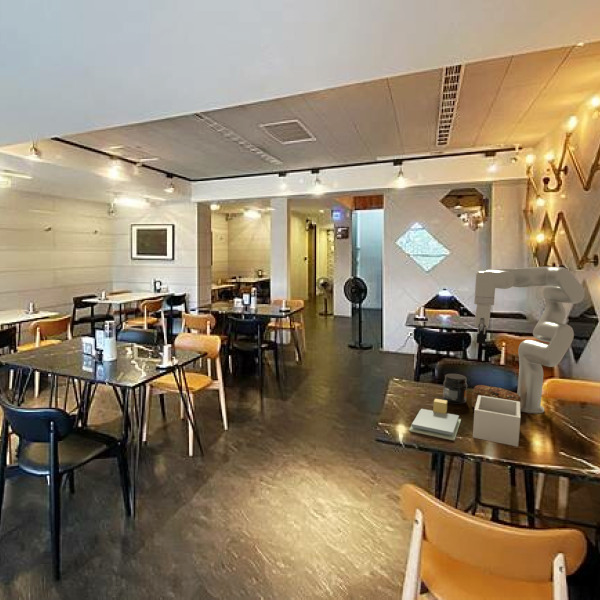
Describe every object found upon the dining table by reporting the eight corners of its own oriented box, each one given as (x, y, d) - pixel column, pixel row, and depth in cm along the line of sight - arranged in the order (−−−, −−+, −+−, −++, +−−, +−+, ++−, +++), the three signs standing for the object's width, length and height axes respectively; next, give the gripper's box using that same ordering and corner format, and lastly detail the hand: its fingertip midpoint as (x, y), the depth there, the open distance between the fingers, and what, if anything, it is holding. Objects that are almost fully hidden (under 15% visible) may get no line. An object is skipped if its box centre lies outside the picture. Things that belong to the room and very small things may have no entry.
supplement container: (468, 399, 198) (469, 375, 196) (464, 406, 189) (465, 381, 187) (445, 395, 203) (446, 371, 202) (440, 402, 194) (441, 377, 193)
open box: (476, 420, 173) (478, 395, 172) (517, 427, 166) (519, 401, 165) (472, 437, 157) (474, 409, 156) (518, 446, 150) (520, 417, 149)
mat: (419, 412, 181) (419, 411, 180) (460, 420, 173) (461, 419, 173) (408, 431, 162) (408, 429, 162) (454, 440, 154) (454, 439, 154)
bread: (470, 408, 188) (471, 386, 186) (476, 401, 196) (478, 381, 195) (515, 418, 176) (517, 396, 175) (520, 411, 184) (522, 389, 183)
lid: (422, 411, 181) (423, 396, 180) (459, 418, 174) (460, 402, 173) (411, 429, 162) (412, 413, 161) (452, 437, 155) (453, 420, 154)
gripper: (476, 298, 180) (473, 336, 182) (472, 302, 165) (470, 344, 167) (495, 299, 177) (492, 338, 179) (493, 303, 162) (490, 346, 164)
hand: (481, 341), depth 173 cm, fingers open, 9 cm apart
